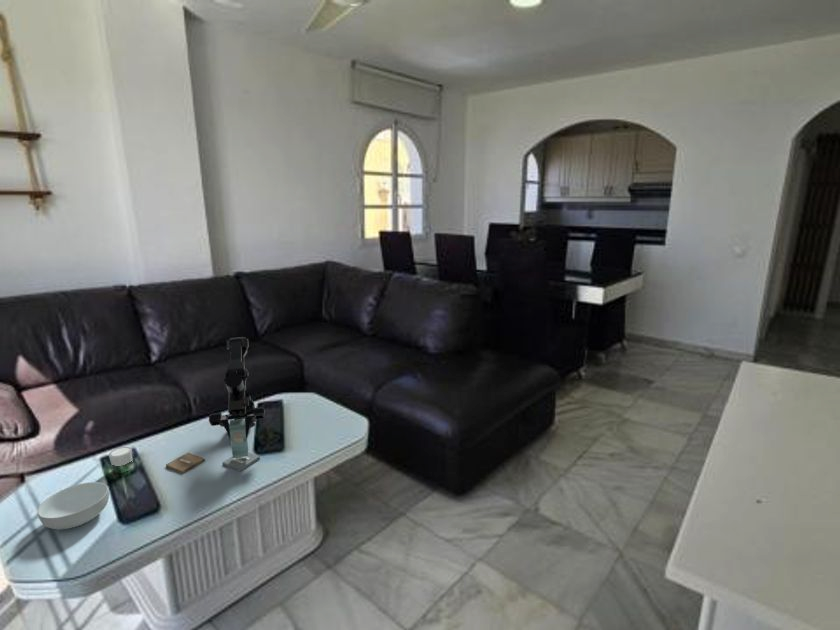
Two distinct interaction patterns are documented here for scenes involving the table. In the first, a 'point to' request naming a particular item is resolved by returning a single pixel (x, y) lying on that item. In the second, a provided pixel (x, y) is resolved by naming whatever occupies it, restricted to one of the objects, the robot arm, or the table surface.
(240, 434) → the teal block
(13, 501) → the table surface
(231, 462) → the slate tile
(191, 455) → the walnut tile
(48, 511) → the cereal bowl
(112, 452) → the white cylinder
